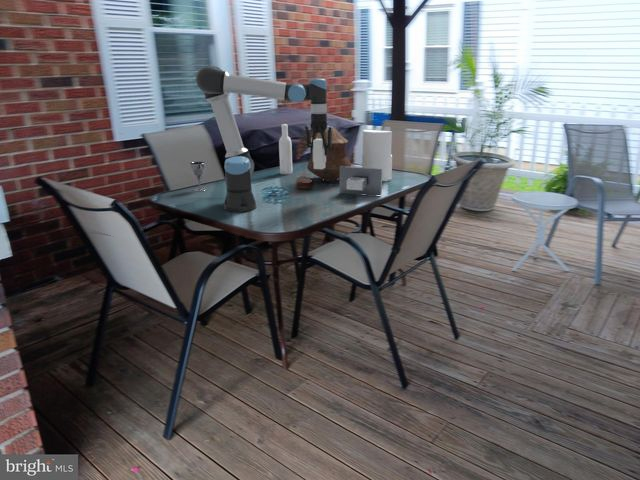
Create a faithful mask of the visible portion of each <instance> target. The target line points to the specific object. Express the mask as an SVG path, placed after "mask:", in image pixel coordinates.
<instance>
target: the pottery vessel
mask: <svg viewBox="0 0 640 480" xmlns="http://www.w3.org/2000/svg"><path fill="white" fill-rule="evenodd" d="M325 135H326V140H327V144H328V130H327V128H326V130H325ZM316 139H322V136H321V134H320V133H318V134H317V137H316ZM311 142H312V137H311ZM348 142H349V140H348V139H346V138H345V137H343V135H341V133H340V132H339V130H337V129H336V128H335V127H333V129H332V147H330V148H328V155H327V156H326V162H325V168H324V169H314V162H313V155H311V154H310V159H309V161H308V162H307V167H306V168H307V170H308V171H309V172H311V173H312V174H313V175H315V176H317V177H318V178H320V179H321V180H322V179H324V180H337V179H338V178H339V179H340V166H348V167H352V163H351V161H350V160H349V158H348V157H347V143H348ZM339 179H338V180H339ZM324 180H323V181H324ZM338 180H337V181H338Z"/></svg>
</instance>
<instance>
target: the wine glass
mask: <svg viewBox="0 0 640 480" xmlns="http://www.w3.org/2000/svg"><path fill="white" fill-rule="evenodd" d="M189 167H190V172H191V173H192V175H193V176H194V177H195V178H196V179H197V182H198V188H195V189H193V190H194V191H193V192H195V191H199V193H201V192H205V191H207V188H204V187H203V188H202V187H201V178H202V177H203V176H204V174H205V173H206V162H205V161H201V160H200V161H191V162H189Z"/></svg>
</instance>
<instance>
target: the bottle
mask: <svg viewBox="0 0 640 480" xmlns="http://www.w3.org/2000/svg"><path fill="white" fill-rule="evenodd" d="M288 127H289V126H288V124H286V123H282V124H281V137H280V138H279V139H278V140H279V141H278V152H279V156H278V157H279V174H280V175H291V174H293V172H294V171H293V150H292V149H293V148H292V147H293V146H292V139H291V137H290V136H289V130H288V129H289V128H288Z"/></svg>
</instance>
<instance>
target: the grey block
mask: <svg viewBox="0 0 640 480" xmlns="http://www.w3.org/2000/svg"><path fill="white" fill-rule="evenodd" d="M382 184H383V182H382V168H365V167H362V166H350V167H348V166H340V177H339V194H342V193H348V194H347V195H355V194H366V195H365V196H368V195H381V194H382V193H383V192H382V191H383V190H382V188H383V185H382ZM381 196H382V195H381Z"/></svg>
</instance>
